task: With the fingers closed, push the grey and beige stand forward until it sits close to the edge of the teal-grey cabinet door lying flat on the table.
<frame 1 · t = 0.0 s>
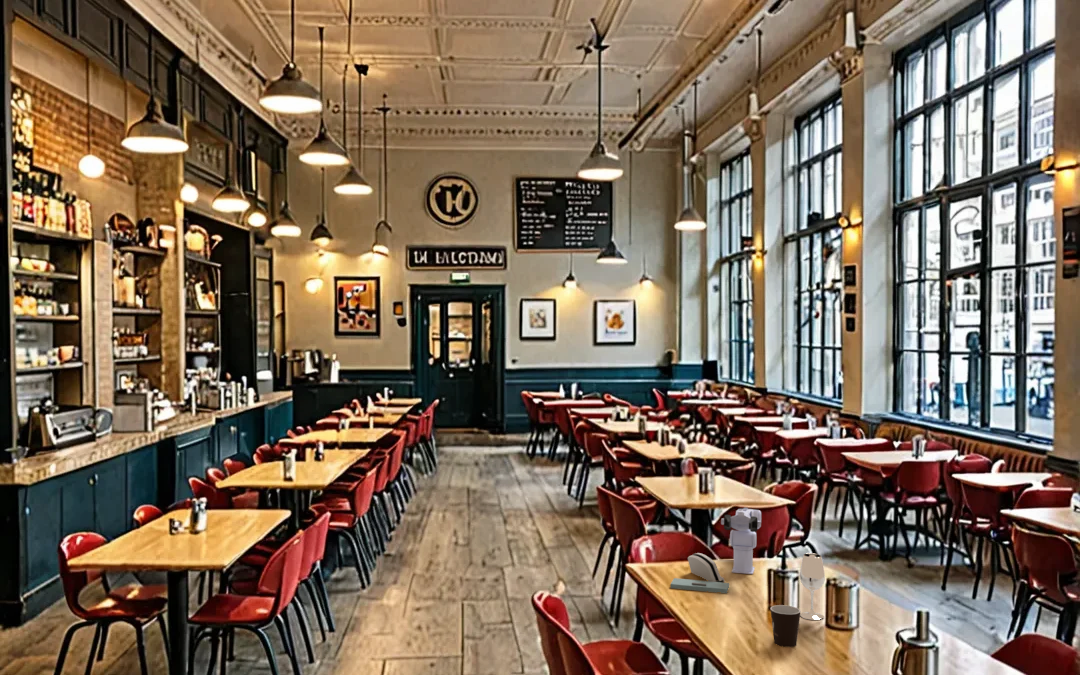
hand: (739, 525, 320), 22 cm above the table, tool horizontal, fingers open, 7 cm apart
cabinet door: (699, 587, 315), on the table
coffee mug: (786, 642, 260), on the table
wineglass: (812, 617, 283), on the table
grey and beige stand: (704, 578, 328), on the table
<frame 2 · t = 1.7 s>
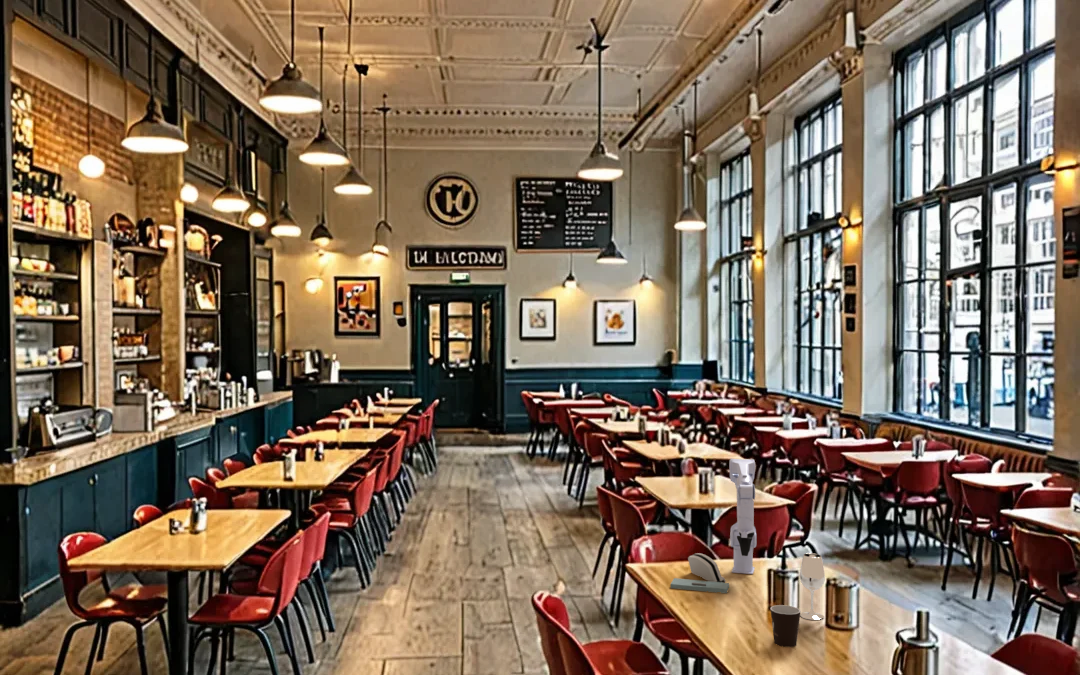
hand: (745, 553, 323), 10 cm above the table, tool pointing down, fingers open, 6 cm apart
nothing on the table moved.
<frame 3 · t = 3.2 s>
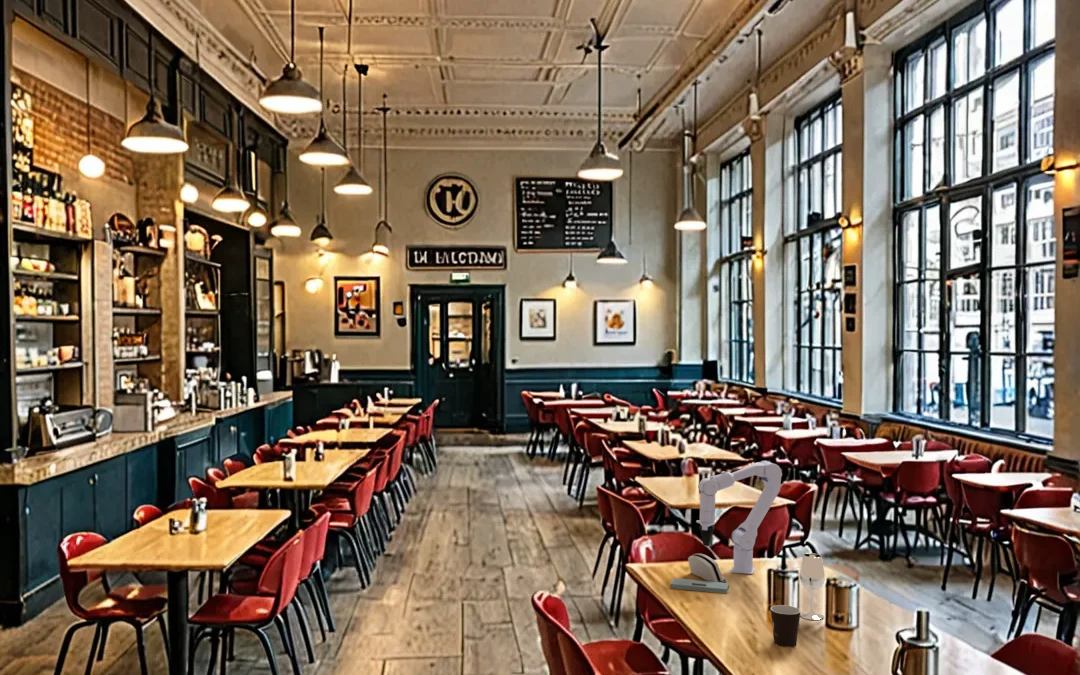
hand: (706, 545, 336), 10 cm above the table, tool pointing down, fingers closed
nothing on the table moved.
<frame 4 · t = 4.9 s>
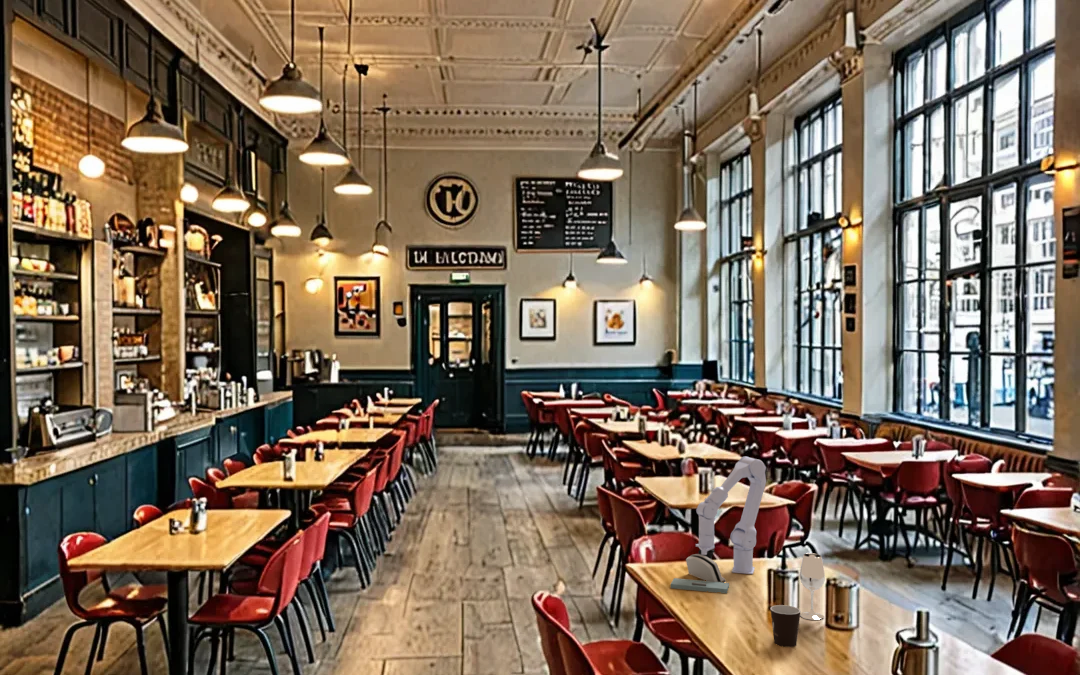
hand: (706, 569, 333), 2 cm above the table, tool pointing down, fingers closed
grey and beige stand: (704, 579, 327), on the table
everything else where it was.
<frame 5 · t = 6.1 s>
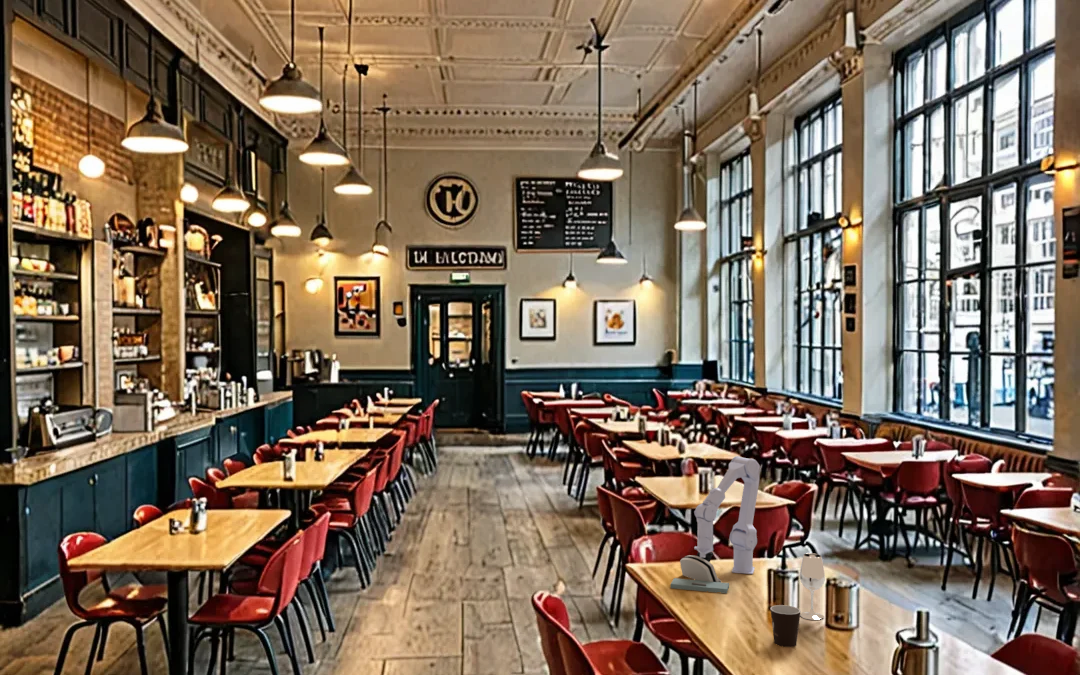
hand: (704, 572, 329), 2 cm above the table, tool pointing down, fingers closed
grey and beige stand: (699, 580, 325), on the table
everything else where it was.
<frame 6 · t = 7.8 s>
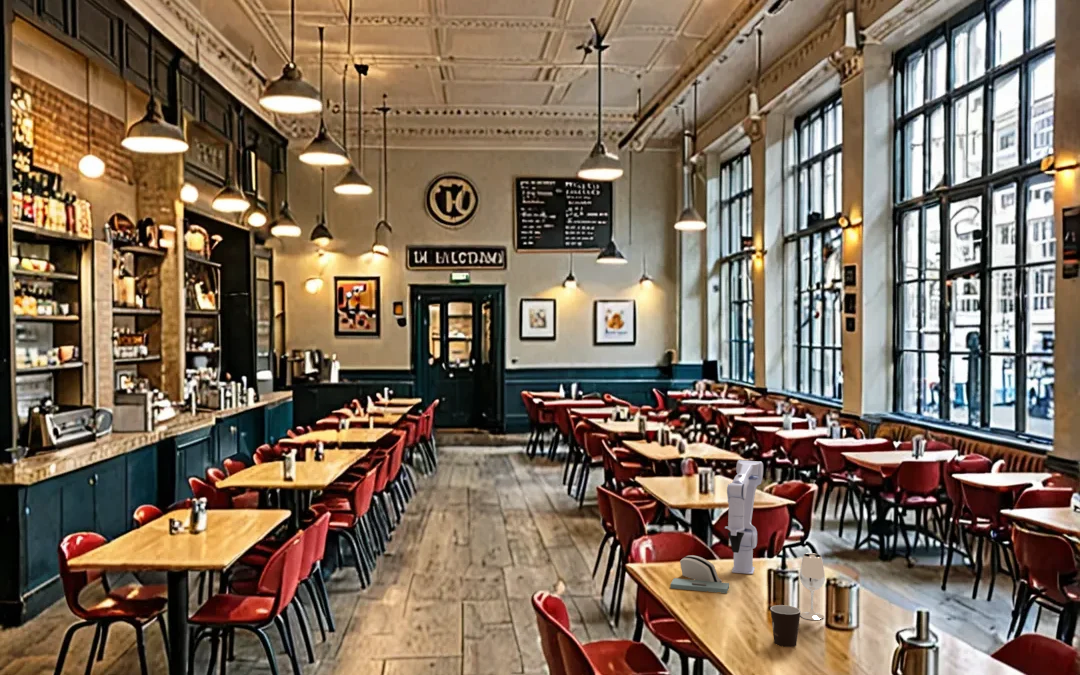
hand: (735, 552, 325), 10 cm above the table, tool pointing down, fingers closed
nothing on the table moved.
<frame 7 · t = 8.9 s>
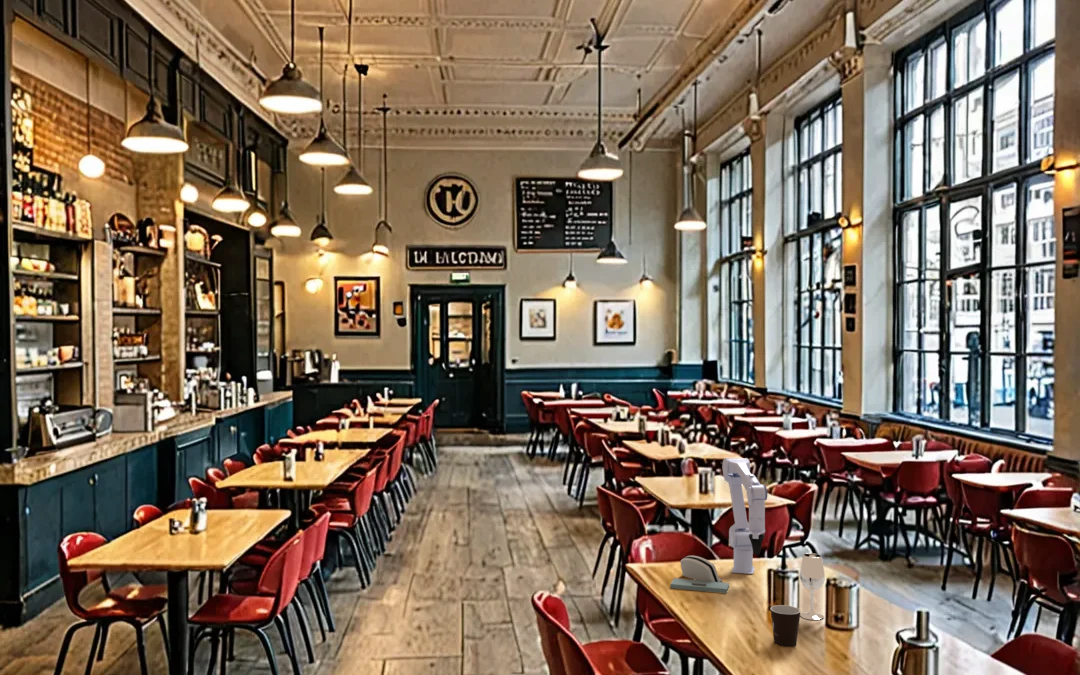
hand: (756, 554, 322), 10 cm above the table, tool pointing down, fingers closed
nothing on the table moved.
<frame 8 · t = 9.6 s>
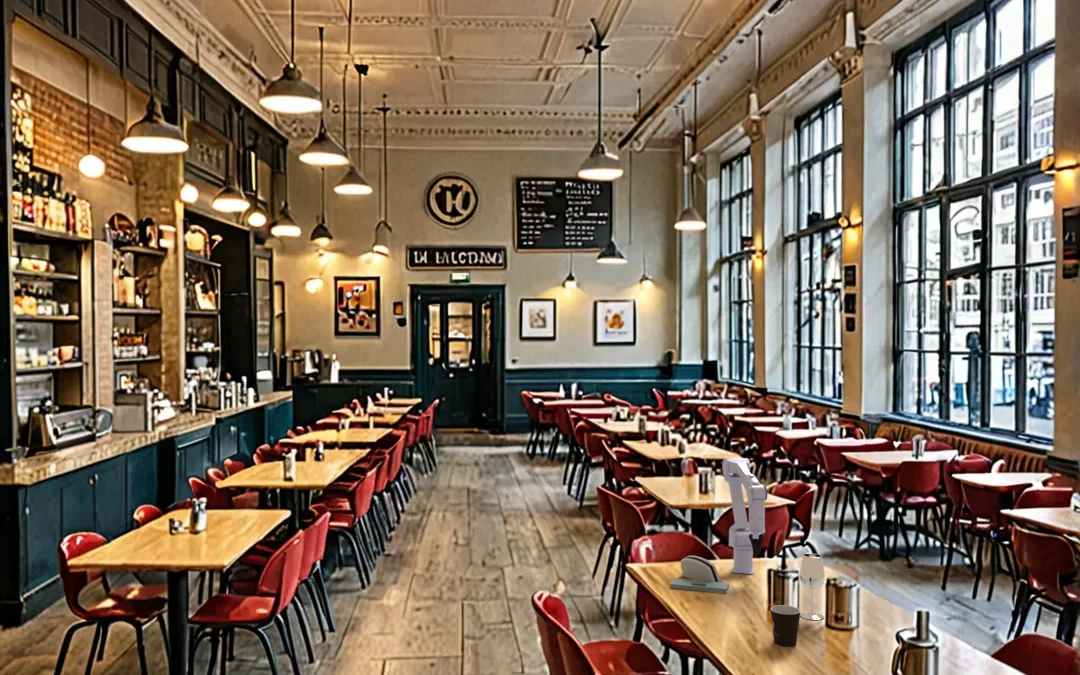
hand: (756, 554, 322), 10 cm above the table, tool pointing down, fingers closed
nothing on the table moved.
at the end: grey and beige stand inside the target area (1.8 cm from its centre), on the table; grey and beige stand tilted 0°; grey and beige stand moved 4.3 cm from its start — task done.
